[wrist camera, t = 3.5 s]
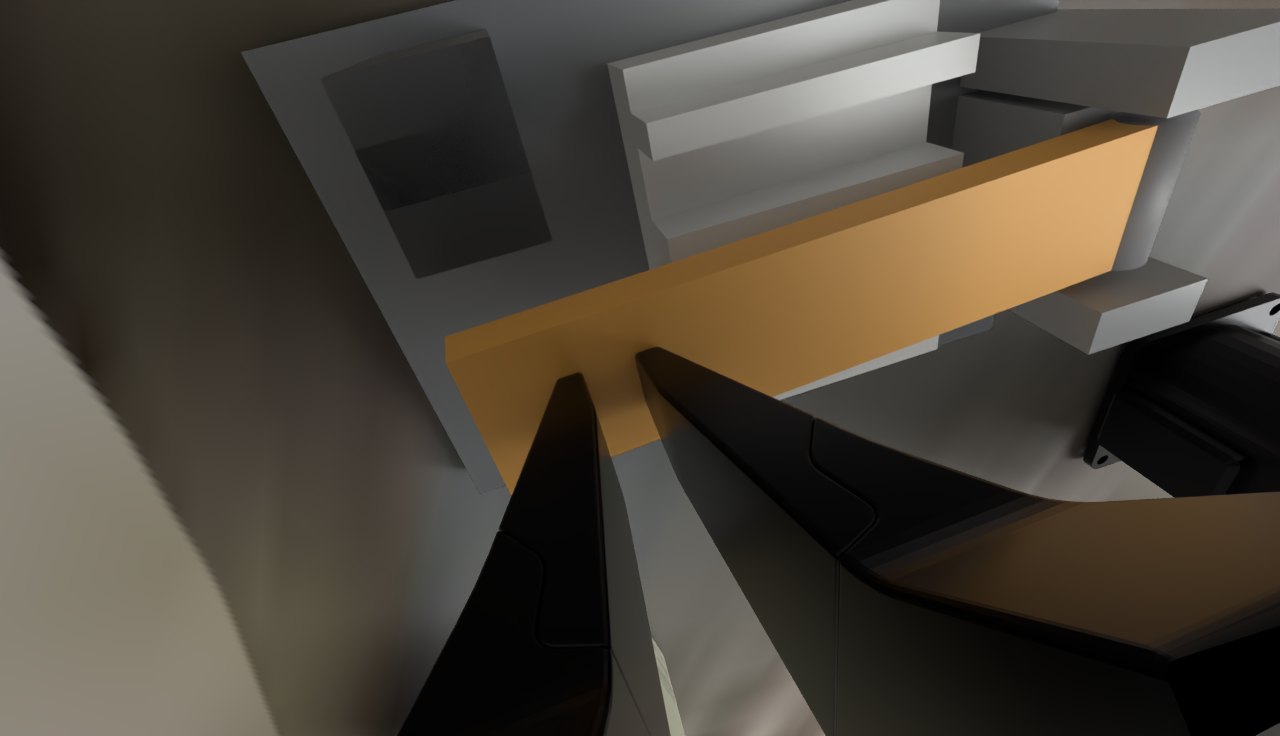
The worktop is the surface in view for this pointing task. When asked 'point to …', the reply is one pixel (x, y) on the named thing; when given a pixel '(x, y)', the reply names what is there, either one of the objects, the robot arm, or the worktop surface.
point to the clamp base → (756, 138)
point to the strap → (834, 283)
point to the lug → (442, 151)
